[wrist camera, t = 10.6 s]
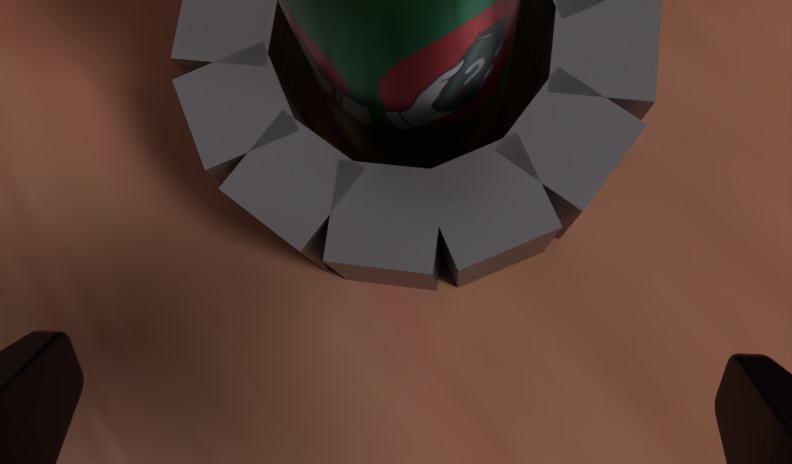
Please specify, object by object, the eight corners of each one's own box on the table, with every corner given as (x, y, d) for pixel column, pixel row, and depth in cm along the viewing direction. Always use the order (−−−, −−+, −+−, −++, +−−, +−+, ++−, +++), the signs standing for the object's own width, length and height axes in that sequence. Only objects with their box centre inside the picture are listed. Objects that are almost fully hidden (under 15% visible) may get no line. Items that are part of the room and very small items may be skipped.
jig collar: (606, 311, 19) (641, 299, 15) (188, 259, 20) (133, 238, 16) (636, -80, 21) (673, -168, 17) (257, -103, 22) (221, -190, 19)
